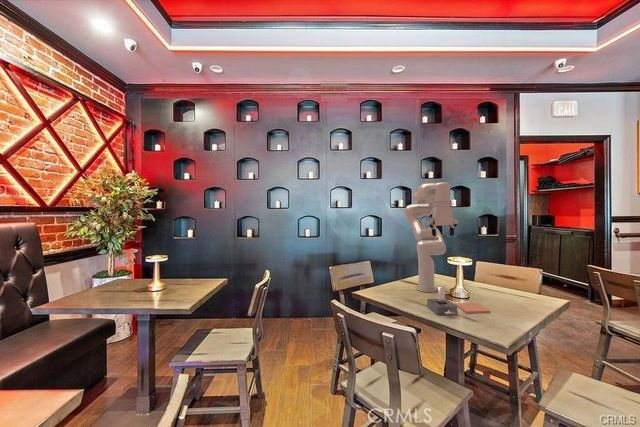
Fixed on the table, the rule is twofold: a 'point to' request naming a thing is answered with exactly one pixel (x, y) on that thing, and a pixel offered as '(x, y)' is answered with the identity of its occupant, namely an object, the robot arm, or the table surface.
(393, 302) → the table surface
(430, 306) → the vise block
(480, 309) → the terracotta mat
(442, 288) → the steel peg
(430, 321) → the table surface
